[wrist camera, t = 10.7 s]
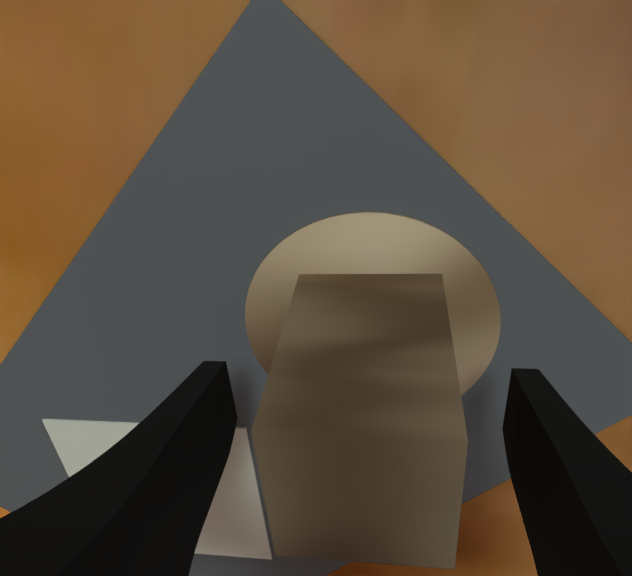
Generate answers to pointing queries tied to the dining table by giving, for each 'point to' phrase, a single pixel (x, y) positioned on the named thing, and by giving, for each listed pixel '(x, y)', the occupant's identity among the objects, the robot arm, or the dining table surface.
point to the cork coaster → (378, 258)
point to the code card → (229, 500)
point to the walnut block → (364, 423)
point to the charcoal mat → (250, 250)
